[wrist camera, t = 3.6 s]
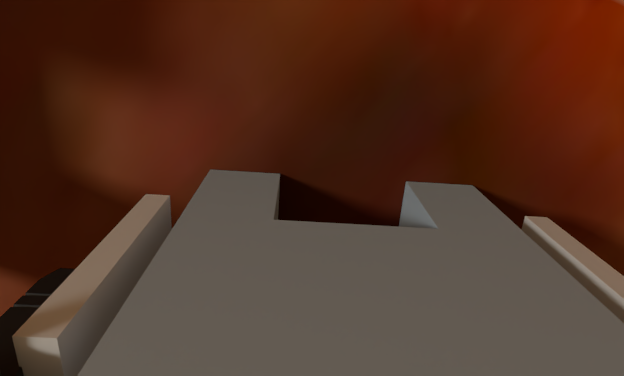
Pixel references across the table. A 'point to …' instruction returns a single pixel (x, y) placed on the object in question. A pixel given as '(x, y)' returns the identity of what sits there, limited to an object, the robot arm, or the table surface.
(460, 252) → the slotted plate
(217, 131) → the table surface
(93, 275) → the robot arm
